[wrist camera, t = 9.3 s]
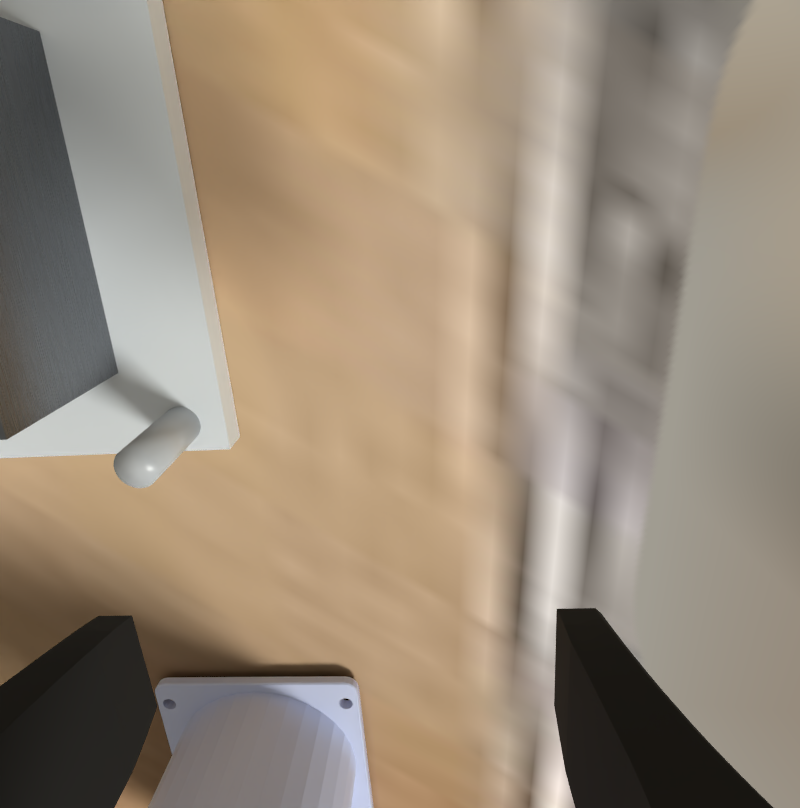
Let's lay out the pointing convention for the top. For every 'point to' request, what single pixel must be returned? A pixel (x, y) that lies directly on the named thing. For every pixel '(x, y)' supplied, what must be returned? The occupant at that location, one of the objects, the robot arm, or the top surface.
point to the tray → (133, 243)
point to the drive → (42, 250)
